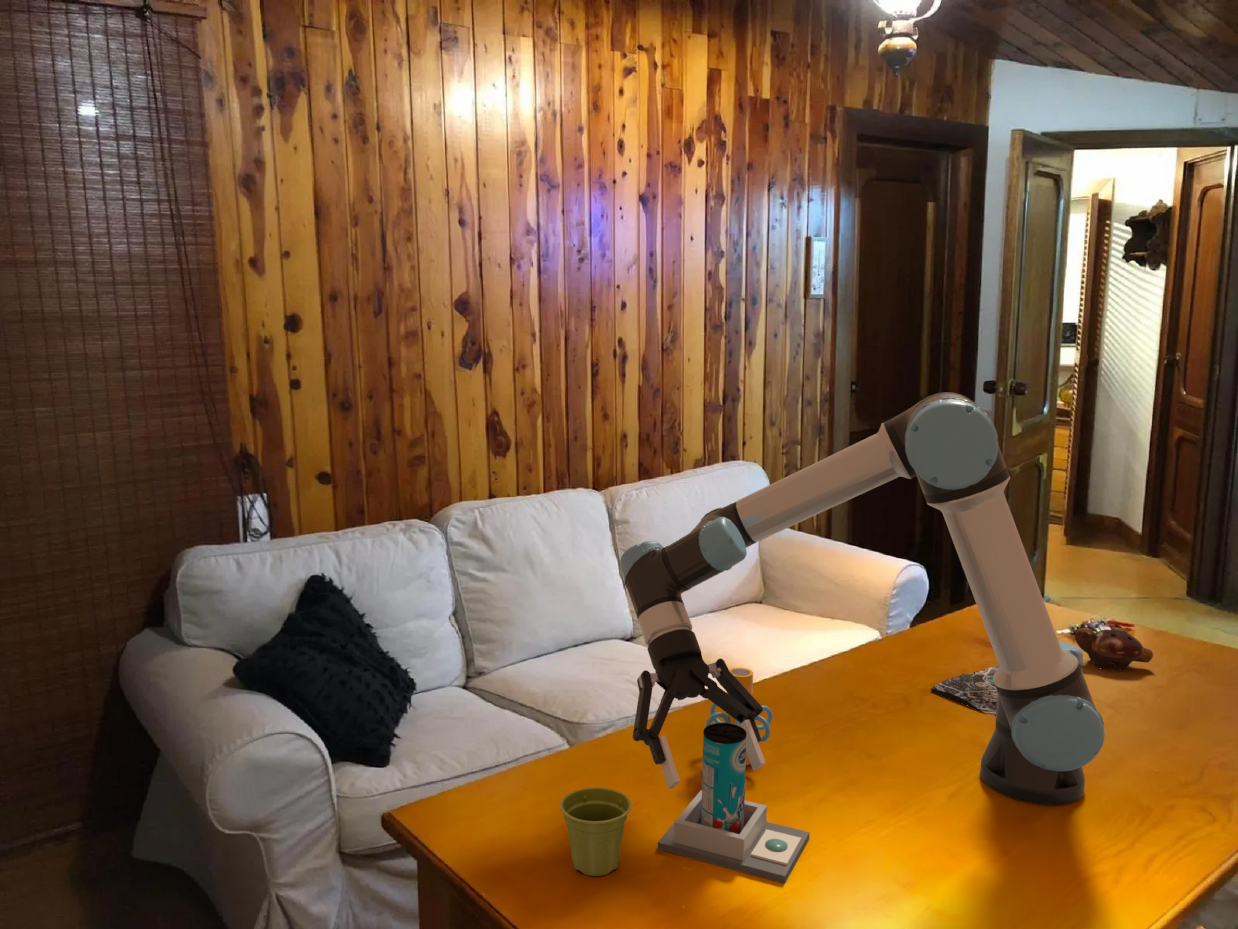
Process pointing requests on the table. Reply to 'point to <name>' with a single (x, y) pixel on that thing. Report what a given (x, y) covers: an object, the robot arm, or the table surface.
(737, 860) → the can holder
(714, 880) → the table surface
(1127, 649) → the decorative turtle
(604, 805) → the plant pot
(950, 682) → the terrain model
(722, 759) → the beverage can
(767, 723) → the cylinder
